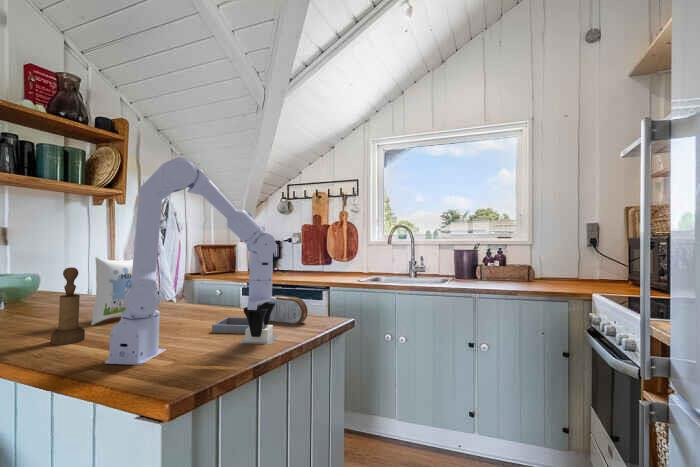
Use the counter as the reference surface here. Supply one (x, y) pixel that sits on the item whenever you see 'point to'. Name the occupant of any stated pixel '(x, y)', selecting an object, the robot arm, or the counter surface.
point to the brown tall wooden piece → (68, 313)
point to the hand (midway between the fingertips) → (259, 333)
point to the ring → (265, 335)
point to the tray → (231, 325)
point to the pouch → (111, 288)
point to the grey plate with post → (261, 342)
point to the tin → (288, 310)
